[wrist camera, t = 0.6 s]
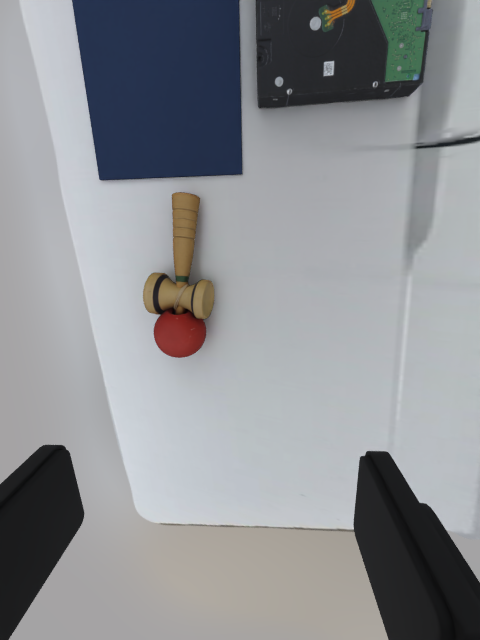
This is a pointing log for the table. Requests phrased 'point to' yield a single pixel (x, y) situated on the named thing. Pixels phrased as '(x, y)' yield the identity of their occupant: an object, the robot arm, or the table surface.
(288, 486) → the table surface
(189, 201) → the kendama
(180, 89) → the napkin
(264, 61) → the disk drive
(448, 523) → the table surface
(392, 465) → the robot arm
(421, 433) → the table surface
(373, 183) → the table surface
